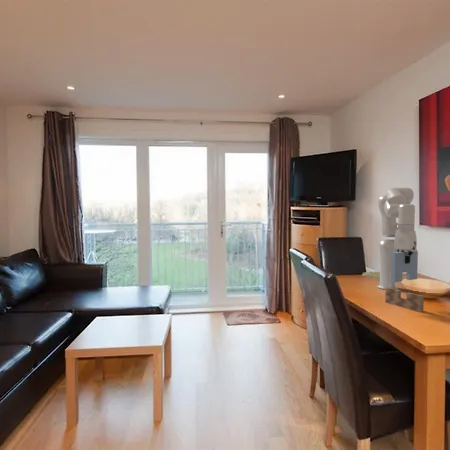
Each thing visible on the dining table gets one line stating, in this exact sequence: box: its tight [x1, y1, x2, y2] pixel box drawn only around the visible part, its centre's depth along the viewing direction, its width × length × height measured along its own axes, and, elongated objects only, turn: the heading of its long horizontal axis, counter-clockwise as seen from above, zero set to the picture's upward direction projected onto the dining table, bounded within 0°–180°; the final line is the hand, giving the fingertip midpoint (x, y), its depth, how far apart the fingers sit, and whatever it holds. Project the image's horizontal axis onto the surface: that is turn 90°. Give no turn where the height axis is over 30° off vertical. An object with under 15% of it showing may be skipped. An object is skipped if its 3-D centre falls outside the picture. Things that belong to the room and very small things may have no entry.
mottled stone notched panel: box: [384, 287, 425, 313], centre depth 178 cm, size 20×2×8 cm, turn 27°
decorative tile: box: [361, 271, 380, 281], centre depth 252 cm, size 19×20×4 cm
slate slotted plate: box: [391, 250, 419, 283], centre depth 176 cm, size 18×2×15 cm, turn 117°
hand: (405, 262), depth 176 cm, fingers closed on slate slotted plate, 2 cm apart
